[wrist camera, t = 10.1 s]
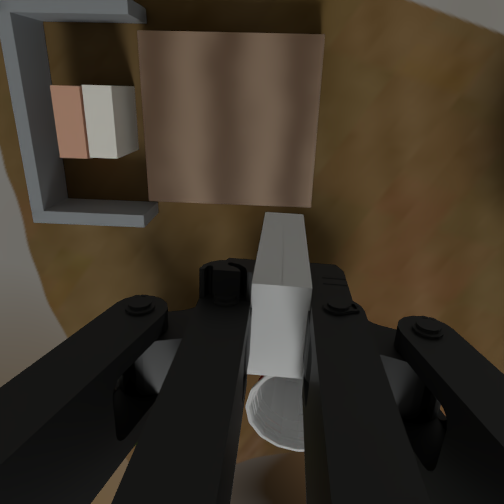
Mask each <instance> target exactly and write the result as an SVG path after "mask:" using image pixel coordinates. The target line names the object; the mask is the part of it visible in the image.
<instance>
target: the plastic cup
mask: <svg viewBox="0 0 504 504" xmlns="http://www.w3.org/2000/svg"><path fill="white" fill-rule="evenodd" d="M303 377H304V368H303ZM303 377H302V379H297V378H287V377H276V376H265V375H261V377H260V378H259V380H258V382H257V383H256V384H255V385H254V386H253V387H252V389H251V391H250V394H249V397H248V400H247V403H246V406H245V407H246V411H247V416H248V421H249V423H250V424H251V426H252V427H253V428H254V429H255V431H256V432H257V433H258V434H259V436H260V437H262V438H264V439H265V440H267V441H269V442H270V443H272V444H274V445H275V446H277V447H281V448H285V449H289V450H293V451H297V452H302V451H304V429H303V415H299V412H300V404H301V395H302V386H303Z"/></svg>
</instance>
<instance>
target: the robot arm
mask: <svg viewBox="0 0 504 504" xmlns="http://www.w3.org/2000/svg"><path fill="white" fill-rule="evenodd" d="M303 368H304V377H303ZM247 374H254V375H265V376H276V377H287V378H297V379H302V377H303V386H302V395H301V404H300V412H299V415H303V429H304V453H305V475H306V476H305V478H306V502H307V504H504V374H503V373H502V372H500V371H499V370H498V369H497V368H496V367H495V366H494V365H493V364H492V363H490V362H489V361H488V360H487V359H486V358H485V357H484V356H483V355H481V354H480V353H479V352H478V351H477V350H476V349H475V348H474V347H473V346H471V345H470V344H469V343H468V342H467V341H466V340H465V339H464V338H462V337H461V336H460V335H459V334H458V333H457V332H456V331H455V330H454V329H452V328H451V327H449V326H448V325H446V324H445V323H442V322H440V321H438V320H436V319H434V318H431V317H429V318H428V317H426V316H409V317H404V318H402V319H401V320H399V322H398V326H397V330H396V329H392V328H388V327H384V326H380V325H377V324H374V323H372V322H370V321H368V319H367V317H366V314H365V311H364V310H363V308H362V307H361V306H360V305H359V304H357V303H355V302H354V301H353V300H352V297H351V294H350V291H349V287H348V284H347V281H346V278H345V275H344V272H343V271H342V270H341V269H340V268H339V267H337V266H336V265H331V264H318V263H309V256H308V248H307V240H306V232H305V224H304V216H303V214H289V213H274V212H265V217H264V222H263V227H262V233H261V238H260V243H259V248H258V253H257V259H256V260H249V259H236V258H229V259H227V260H219V261H213V262H209V263H206V264H204V265H203V266H202V267H201V268H200V269H199V300H198V303H197V305H196V307H195V308H191V309H188V310H181V311H171V312H168V307H167V303H166V302H165V301H164V300H163V299H161V298H158V297H155V296H148V295H141V296H140V295H135V296H133V297H129V298H125V299H123V300H121V301H119V302H117V303H116V304H114V305H113V306H112V307H110V308H109V309H107V310H106V311H105V312H103V313H102V314H101V315H99V316H98V317H96V318H95V319H94V320H92V321H91V322H90V323H88V324H87V325H85V326H84V327H83V328H81V329H80V330H79V331H77V332H76V333H74V334H73V335H72V336H70V337H69V338H68V339H66V340H65V341H64V342H62V343H61V344H59V345H58V346H57V347H55V348H54V349H53V350H51V351H50V352H49V353H47V354H46V355H44V356H43V357H42V358H40V359H39V360H38V361H36V362H35V363H33V364H32V365H31V366H29V367H28V368H26V369H25V370H24V371H22V372H21V373H20V374H18V375H17V376H16V377H14V378H13V379H11V380H10V381H9V382H7V383H6V384H5V385H3V386H2V387H0V504H91V502H92V501H93V500H94V498H95V497H96V496H97V494H98V493H99V492H100V490H101V489H102V488H103V487H104V485H105V484H106V483H107V481H108V480H109V479H110V477H111V476H112V474H113V473H114V472H115V470H116V469H117V468H118V467H119V465H120V464H121V463H122V461H123V460H124V459H125V457H126V456H127V455H128V453H129V452H130V451H131V449H132V448H133V447H134V446H135V444H136V443H137V442H138V443H137V445H136V447H135V450H134V452H133V454H132V457H131V459H130V461H129V464H128V466H127V468H126V471H125V473H124V475H123V478H122V480H121V483H120V485H119V487H118V489H117V492H116V494H115V496H114V499H113V501H112V503H111V504H230V501H231V494H232V486H233V479H234V472H235V465H236V458H237V450H238V443H239V436H240V429H241V422H242V415H243V407H244V400H245V393H246V385H247ZM441 405H442V407H443V408H444V411H445V414H446V416H445V415H444V414H443V413H442V412H441V410H440V406H441Z"/></svg>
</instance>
